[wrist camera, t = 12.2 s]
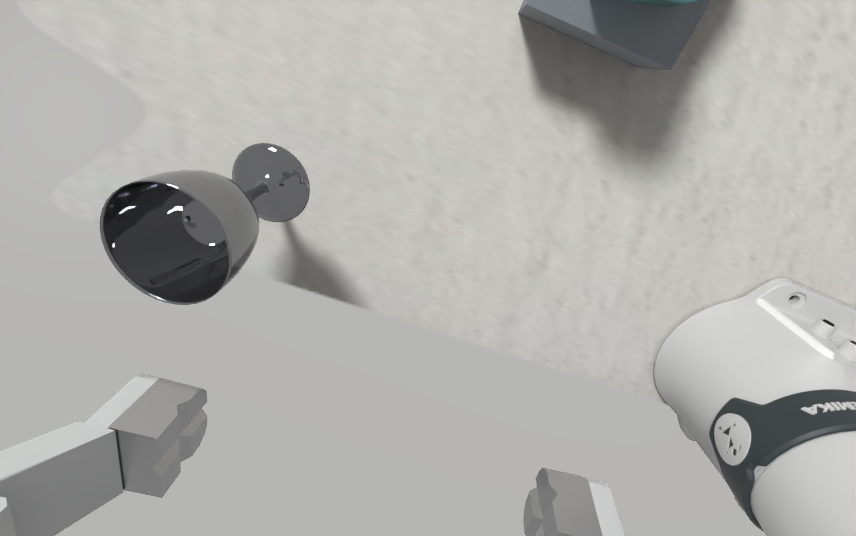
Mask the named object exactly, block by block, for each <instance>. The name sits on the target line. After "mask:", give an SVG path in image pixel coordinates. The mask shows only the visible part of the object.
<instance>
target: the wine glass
mask: <svg viewBox="0 0 856 536" xmlns="http://www.w3.org/2000/svg"><path fill="white" fill-rule="evenodd" d="M308 197H309V181H308V177H307V174H306V172H305V170H304V168H303V166H302V165H301V163H300V162H299V161H298V160H297V158H296V157H295V156H294V155H292V154H291V153H290V152H289V151H287V150H285V149H284V148H282V147H279V146H277V145H273V144H268V143H260V144H254V145H252V146H249V147H247V148H246V149H245V150H243V151H242V152H241V153H240V154H239V155H238V157H237V159H236V160H235V163H234V166H233V171H232V180H231V179H229V178H227V177H225V176H223V175H220V174H217V173H213V172H208V171H203V170H180V171H171V172H165V173H160V174H156V175H153V176H149V177H145V178H143V179H140V180H137V181H134V182H132V183H129V184H127V185H125V186H122V187H120V188H119V189H118V190H116V191H115V192H114V193H112V195H111V196H110V197H109V198H108V199H107V201H106V203H105V205H104V207H103V209H102V213H101V217H100V233H101V238H102V242H103V245H104V248H105V251H106V253H107V255H108V256H109V258H110V260H111V262H112V263H113V265H114V266H115V268H116V269H117V270H118V271H119V273H120V274H121V275H122V276H123V277H124V278H125V279H126V280H127V281H128V282H129V283H131V284H132V285H133V286H134V287H136V288H137V289H138V290H140V291H141V292H143V293H144V294H146V295H148V296H150V297H152V298H155V299H157V300H160V301H163V302H166V303H171V304H178V305H189V304H196V303H200V302H203V301H205V300H207V299H209V298H211V297H212V296H214V295H215V294H216V293H217V292H219V291H220V290H221V289H222V288H223V287H224V286H225V285H227V284H228V283H229V282H230V281H231V280H232V279H233V278H234V277H235V276H236V275H237V274H238V273H239V271H240V270H241V269H242V267H243V266H244V264H245V263H246V261H247V260H248V259H249V257H250V256H251V253H252V251H253V249H254V247H255V245H256V242H257V238H258V233H259V218H258V217H260V218H263V219H265V220H269V221H286V220H289V219H292V218H294V217H295V216H297V215H298V214H299V213H300V212H301V211H302V210H303V209H304V207H305V205H306V203H307V201H308Z"/></svg>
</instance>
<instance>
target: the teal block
mask: <svg viewBox="0 0 856 536" xmlns="http://www.w3.org/2000/svg"><path fill="white" fill-rule="evenodd" d="M623 1H630V2H638V3H645V4H652V5H659V6H666V7H675V6H679V5H682V4H686V3H690V2H693V1H697V0H623Z"/></svg>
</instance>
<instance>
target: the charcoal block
mask: <svg viewBox="0 0 856 536" xmlns="http://www.w3.org/2000/svg"><path fill="white" fill-rule="evenodd" d="M710 1H711V0H697V1H693V2H690V3H686V4H682V5H679V6H675V7H666V6H659V5H652V4H645V3H638V2H630V1H623V0H524V1H523V3H522V5H521V8H520V10H519V13H518V14H521V15H523V16H525V17H527V18H530V19H532V20H534V21H536V22H539V23H541V24H543V25H545V26H548V27H550V28H552V29H554V30H556V31H559V32H561V33H563V34H565V35H568V36H570V37H572V38H574V39H577V40H579V41H581V42H583V43H586V44H588V45H590V46H592V47H594V48H597V49H599V50H601V51H603V52H606V53H608V54H610V55H612V56H615V57H617V58H619V59H621V60H624V61H626V62H628V63H630V64H632V65H635V66H637V67H639V68H653V69H671V68H672V66H673V65H674V63H675V61H676V59H677V58H678V56H679V54H680V53H681V51H682V49H683V47H684V46H685V44H686V42H687V41H688V39H689V37H690V35H691V34H692V32H693V30H694V29H695V27H696V25H697V23H698V22H699V20H700V18H701V16H702V15H703V13H704V11H705V10H706V8H707V6H708V4H709V3H710Z"/></svg>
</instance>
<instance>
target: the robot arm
mask: <svg viewBox="0 0 856 536" xmlns="http://www.w3.org/2000/svg"><path fill="white" fill-rule="evenodd" d="M791 296H794V297H793V298H792V299H790V300H789V298H790V297H791ZM654 379H655V384H656V387H657V389H658V392H659V393H660V395H661V397H662V398H663V399H664V401H665V402H666V403H667V404H668V405H669V406H670V407H671V408H672V409H673V410H674V411H675V413H676V414H677V416H678V421H679V424H680V427H681V429H682V431H683V432H684V433H685V435H686V436H687V438H689V439H690V440H693V441H697V443H698V444H699V445H700V447H701V448H702V450H703V451H704V453H705V454H706V455H707V457H708V458H709V459H710V461H711V462H712V463H713V465H714V466H715V467H716V469H717V470H718V471H719V473H720V474H721V475H722V477H723V478H724V479H725V481H726V482H727V484H728V485H729V487H730V489H731V491H732V492H733V494H734V495H735V497H734V498H735V500H736V501H737V503H738V504H739V506H740V507H741V508H742V510H744V511H745V512H746V514H747V516H748V517H749V519H750V520H751V521H752V522H753V523H754V524H755V525H756V526H757V527H758V528H759V529H761V530H762V531H764V532H765V534H766V535H767V536H856V309H855V308H853V307H851V306H848V305H846V304H844V303H842V302H839V301H837V300H835V299H832V298H830V297H828V296H825V295H823V294H821V293H818V292H816V291H814V290H812V289H809V288H807V287H805V286H802V285H800V284H798V283H795V282H793V281H791V280H788V279H785V278H778V279H774V280H771V281H769V282H767V283H765V284H764V285H762V286H760V287H759V288H757V289H755V290H754V291H752V292H751V293H749V294H748V295H746V296H744V297H741V298H738V299H735V300H731V301H728V302H724V303H721V304H717V305H714V306H712V307H709V308H707V309H705V310H703V311H701V312H699V313H697V314H695V315H693V316H692V317H690V318H689V319H687V320H686V321H684V322H683V323H682V324H681V325H679V326H678V327H677V328H676V329H675V330H674V331H673V332H672V333H671V334H670V335H669V336H668V338H667V339H666V340H665V342H664V343H663V345H662V347H661V348H660V350H659V353H658V355H657V358H656V361H655V366H654ZM206 402H207V395H206V390H204V389H201V388H198V387H194V386H190V385H186V384H182V383H178V382H174V381H171V380H166V379H162V378H158V377H154V376H150V375H145V374H140V375H137V376H135V377H134V378H132V379H131V380H130V381H129V382H128V383H127V384H126V385H125V386H124V387H123V388H122V389H121V390H119V392H117V393H116V394H115V395H114V396H113V397H112V398H111V399H110V400H108V401H107V402H106V403H105V404H104V405H103V406H102V407H101V408H100V409H99V410H98V411H97V412H95V413H94V414H93V415H92V416H91V417H90V418H89V419H88V420H87V421H86V422H84V423H83V422H78V421H77V422H75V423H72V424H70V425H67V426H64V427H62V428H60V429H57V430H54V431H52V432H49V433H46V434H44V435H41V436H39V437H36V438H34V439H31V440H28V441H26V442H23V443H21V444H18V445H15V446H13V447H10V448H8V449H5V450H2V451H0V536H54V535H56V534H58V533H59V532H61V531H62V530H64V529H65V528H67V527H69V526H70V525H72V524H73V523H75V522H76V521H78V520H80V519H81V518H83V517H85V516H86V515H88V514H89V513H91V512H92V511H94V510H95V509H97V508H99V507H100V506H102V505H104V504H105V503H107V502H108V501H110V500H112V499H113V498H115V497H116V496H118V495H120V494H121V493H123V490H127V491H132V492H137V493H142V494H146V495H151V496H156V497H161V498H162V497H163V496H164V494H165V493H166V491H167V490H168V489H169V487H170V486H171V484H172V483H173V482H174V480H175V479H176V478H177V476H178V475H179V473H180V472H181V471H180V462H181V461H183V460H185V459H187V458H189V457H191V456H192V455H193V454H194V452H195V451H196V450H197V448H198V447H199V445H200V443H201V441H202V438H203V436H204V434H205V430H206V426H207V415H206V413H205V412H204V411H203V409H202V407H203V406H204V405H205V403H206ZM536 482H537V487H536V488H534V489H532V490H531V491H530V492H529V495H528V497H527V500H526V503H525V509H524V531H525V534H526V536H625V534H624V530H623V528H622V524H621V522H620V518H619V515H618V512H617V509H616V506H615V503H614V500H613V497H612V494H611V491H610V487H609V485H608V484H607V483H606V482H604V481H600V480H596V479H591V478H587V477H582V476H578V475H574V474H569V473H565V472H560V471H555V470H550V469H546V468H542V469H541V470H540V471H539V473H538V475H537V477H536Z"/></svg>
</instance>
